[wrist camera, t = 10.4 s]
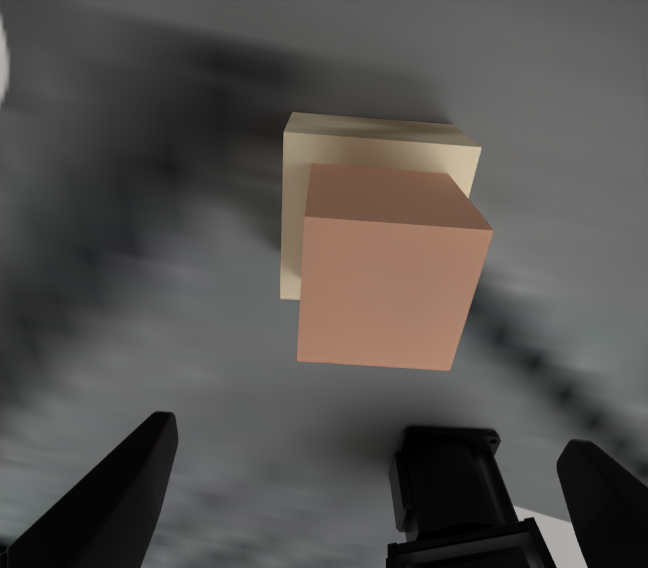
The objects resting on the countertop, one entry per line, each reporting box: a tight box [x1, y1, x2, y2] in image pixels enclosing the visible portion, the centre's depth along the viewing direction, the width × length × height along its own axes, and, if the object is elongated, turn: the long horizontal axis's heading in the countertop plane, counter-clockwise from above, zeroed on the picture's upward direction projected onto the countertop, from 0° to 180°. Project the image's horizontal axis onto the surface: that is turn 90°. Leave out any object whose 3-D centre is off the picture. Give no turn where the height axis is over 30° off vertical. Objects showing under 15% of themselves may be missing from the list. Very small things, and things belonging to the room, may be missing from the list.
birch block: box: [280, 112, 482, 300], centre depth 18 cm, size 7×7×4 cm
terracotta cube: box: [297, 163, 494, 371], centre depth 14 cm, size 5×5×5 cm
